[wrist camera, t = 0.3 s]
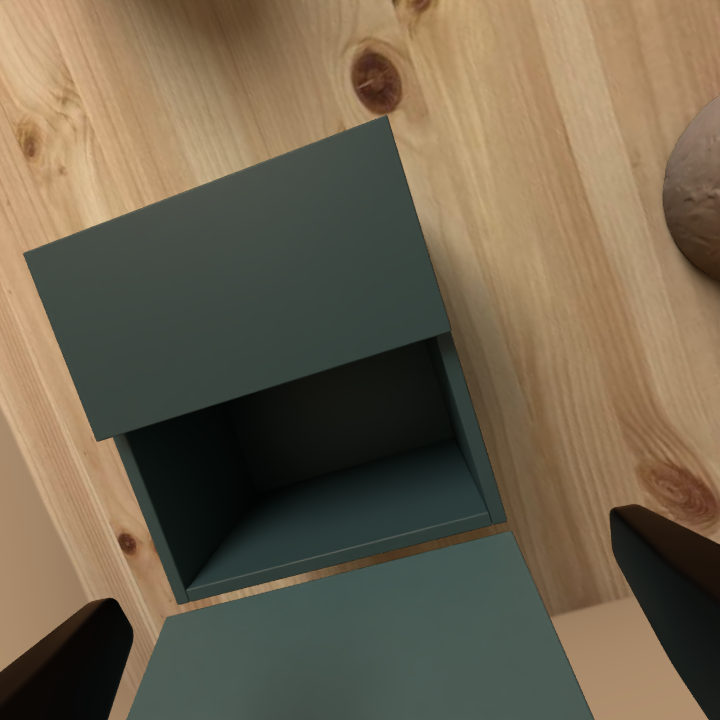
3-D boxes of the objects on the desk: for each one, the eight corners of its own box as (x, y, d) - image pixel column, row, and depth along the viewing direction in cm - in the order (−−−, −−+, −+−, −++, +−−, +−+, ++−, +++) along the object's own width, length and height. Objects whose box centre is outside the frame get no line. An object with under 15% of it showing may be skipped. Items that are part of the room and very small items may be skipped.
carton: (465, 440, 22) (515, 535, 13) (255, 499, 24) (165, 622, 14) (391, 197, 21) (388, 110, 12) (174, 274, 22) (19, 251, 13)
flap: (511, 529, 13) (513, 538, 13) (165, 616, 14) (172, 623, 15) (641, 825, 7) (641, 833, 7) (46, 922, 9) (58, 927, 9)
